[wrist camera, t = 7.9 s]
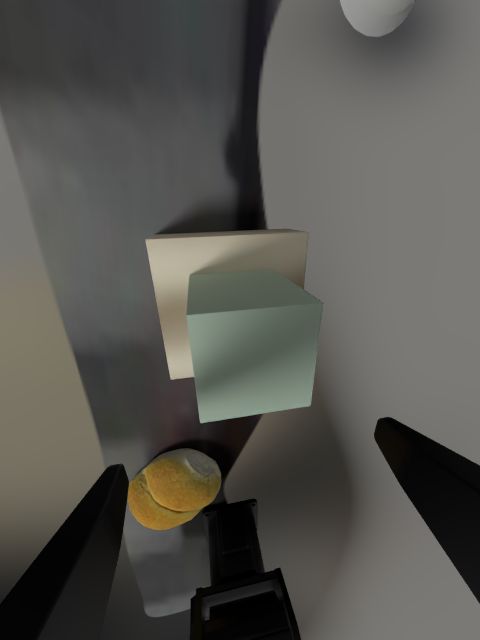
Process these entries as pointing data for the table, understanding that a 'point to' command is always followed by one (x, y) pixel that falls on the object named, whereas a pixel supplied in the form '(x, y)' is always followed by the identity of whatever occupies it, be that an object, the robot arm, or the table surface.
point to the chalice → (376, 15)
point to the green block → (251, 343)
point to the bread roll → (173, 488)
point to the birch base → (213, 257)
